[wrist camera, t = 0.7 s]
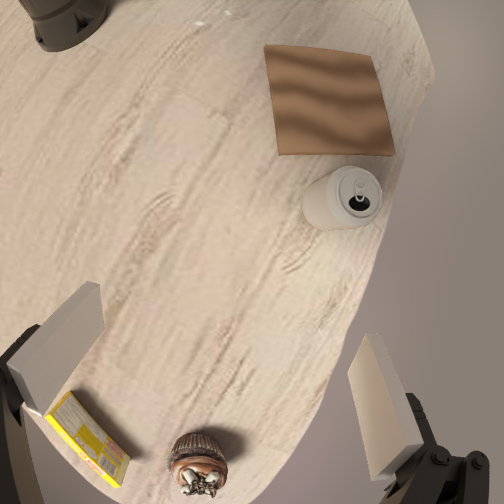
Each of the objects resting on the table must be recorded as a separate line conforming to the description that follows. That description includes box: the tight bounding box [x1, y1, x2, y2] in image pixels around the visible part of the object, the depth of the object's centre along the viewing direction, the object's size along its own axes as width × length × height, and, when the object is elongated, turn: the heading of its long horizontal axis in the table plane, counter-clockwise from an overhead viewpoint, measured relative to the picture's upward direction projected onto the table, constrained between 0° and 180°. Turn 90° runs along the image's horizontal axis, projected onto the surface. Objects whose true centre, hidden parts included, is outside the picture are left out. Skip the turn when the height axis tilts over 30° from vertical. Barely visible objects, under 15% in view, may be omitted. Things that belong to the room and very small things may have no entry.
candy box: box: [45, 391, 131, 488], centre depth 36 cm, size 16×2×8 cm, turn 33°
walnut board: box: [264, 45, 395, 156], centre depth 43 cm, size 20×20×1 cm
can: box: [302, 165, 383, 231], centre depth 38 cm, size 8×8×12 cm
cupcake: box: [167, 433, 228, 498], centre depth 37 cm, size 10×10×10 cm
